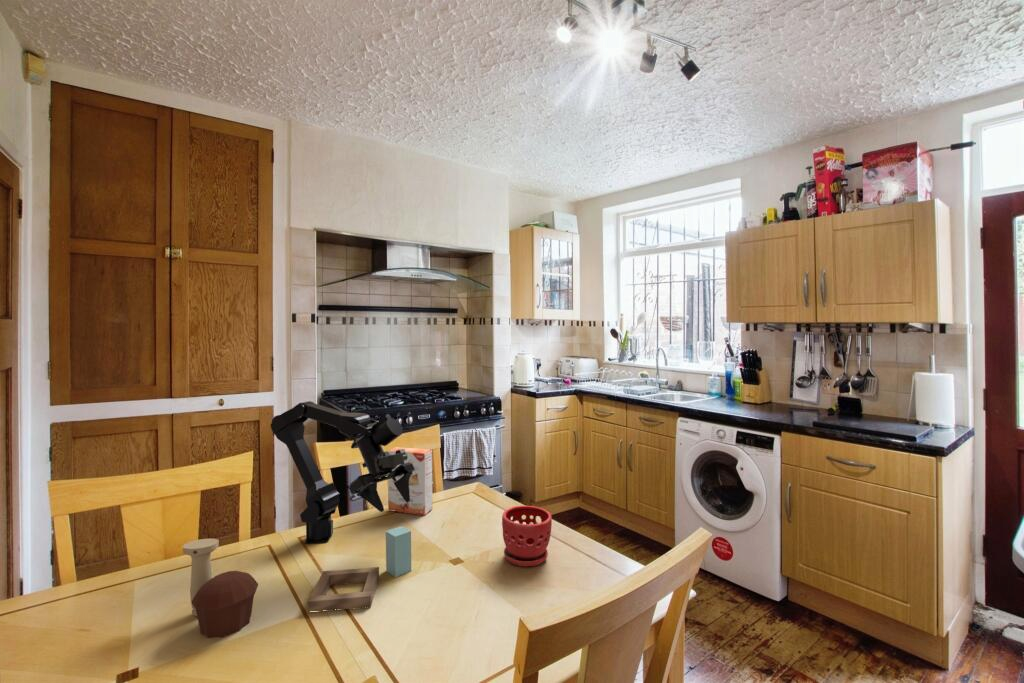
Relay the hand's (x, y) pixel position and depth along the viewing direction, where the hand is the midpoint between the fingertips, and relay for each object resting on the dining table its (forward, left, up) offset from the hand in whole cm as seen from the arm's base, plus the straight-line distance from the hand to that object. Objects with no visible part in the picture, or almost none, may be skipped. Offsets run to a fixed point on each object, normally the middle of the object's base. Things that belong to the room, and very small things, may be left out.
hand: (395, 506), depth 124 cm
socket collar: (-10, -16, -14) cm, 23 cm away
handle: (-39, -19, -14) cm, 45 cm away
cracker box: (+1, +34, -14) cm, 36 cm away
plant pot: (+34, -6, -14) cm, 38 cm away
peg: (+1, -7, -14) cm, 16 cm away
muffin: (-32, -24, -14) cm, 42 cm away
